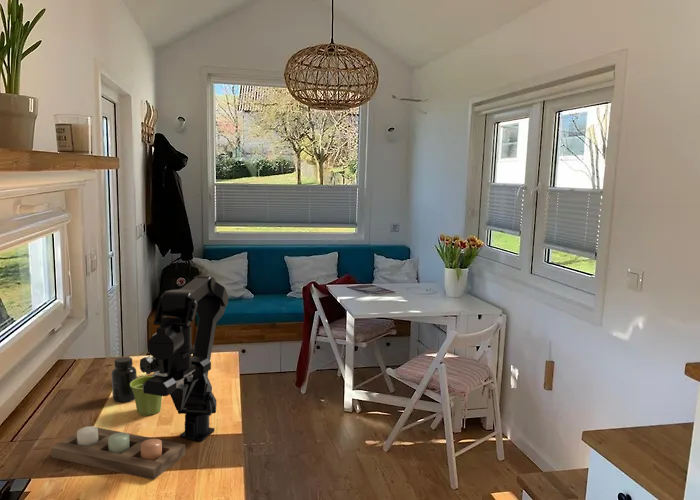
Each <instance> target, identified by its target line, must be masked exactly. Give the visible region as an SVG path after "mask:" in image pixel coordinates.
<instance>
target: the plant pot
mask: <svg viewBox="0 0 700 500" xmlns="http://www.w3.org/2000/svg"><path fill="white" fill-rule="evenodd" d="M152 377H154V376H151V375H146V376H141V377H137V379H135V380H133V381H132V382H131V383H130V387H131V388H132V391H133V393H134V397H135V399H134V401H135V406H136V407H135V408H136V412H137V414H138V415H140V416H142V417H144V416H145V417H147V416H150V415H157V414H158V413H160V411H161V408H162V399H163V396H158V395H152V394H146V393H143V383H144V382H145V381H146V380H148V379H150V378H152Z"/></svg>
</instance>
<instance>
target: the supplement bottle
mask: <svg viewBox="0 0 700 500" xmlns="http://www.w3.org/2000/svg"><path fill="white" fill-rule="evenodd" d="M133 365H134V364H133V358H132V357H129V356H122V357H117V358H116V359H114V368H113V369H112V371H111V391H112V392H111V393H112V400H113V402H115V403H119V404H120V403H121V404H123V403H130V402H132V401H135V397H134V393H133V391H132V388H131V387H130V383H131V382H132V381H133V380H135V379H137V378H138V377H137V369H136V367H135V366H133Z"/></svg>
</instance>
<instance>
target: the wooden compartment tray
mask: <svg viewBox="0 0 700 500" xmlns="http://www.w3.org/2000/svg"><path fill="white" fill-rule="evenodd" d="M89 426H90V425H87V427H89ZM96 427H97V426H96ZM97 428H98V442H97V443H95V444H94V445H92V446H90V447H84V446H80V445H77V432H76V433H74V434H72V435H71V436H69V437H67V438H65V439H64V440H62V441H60V442H58V443H56V444H55V445H53V446H52V447H50V449H51V450H50V451H51V458H53V459H56V460H62V461H66V462H71V463H76V464H79V465H84V466H85V465H86V466H90V467H93V468H98V469H102V470H103V469H104V470H108V471H112V472H117V473H121V474H125V475H130V476H135V477H138V478H144V479H148V480H152V481H154V480H156V479H157V478H158V477H159V476H161V475H162V474H163V473H164V472H166V470H168V469H170V467H172V466H173V465H174V464H175V463H176V462H178V461H180V459H181V458H183V457H184V456H185V455H186V444H185V443H180V442H173V441H170V440H164V439H159V440H161V441H162V456H160V457H159V458H158V459H157V460H155V461H151V460H147V459H142V458H141V443H142V442H143V441H145V440H148V439H155V438H154V437H148V436H143V435H139V434H134V433H133V434H132V433H129V432H127V433H128V434H129V444H130V448H129V449H128V450H126V451H125V452H123V453H122V454H118V453H113V452H109V448H108V437H109V436H110V435H112V434H115V433H121V432H123V431H117V430H113V429H108V428H102V427H97ZM123 433H125V432H123Z"/></svg>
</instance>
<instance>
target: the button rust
mask: <svg viewBox="0 0 700 500" xmlns="http://www.w3.org/2000/svg"><path fill="white" fill-rule="evenodd" d="M161 440H162V439H160V440H159V439H158V438H154V439H148V440H145V441H143V442H142V443H141V458H142V459H147V460H151V461H155V460H157V459H158V458H159V457H160V456H162V441H161Z"/></svg>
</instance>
